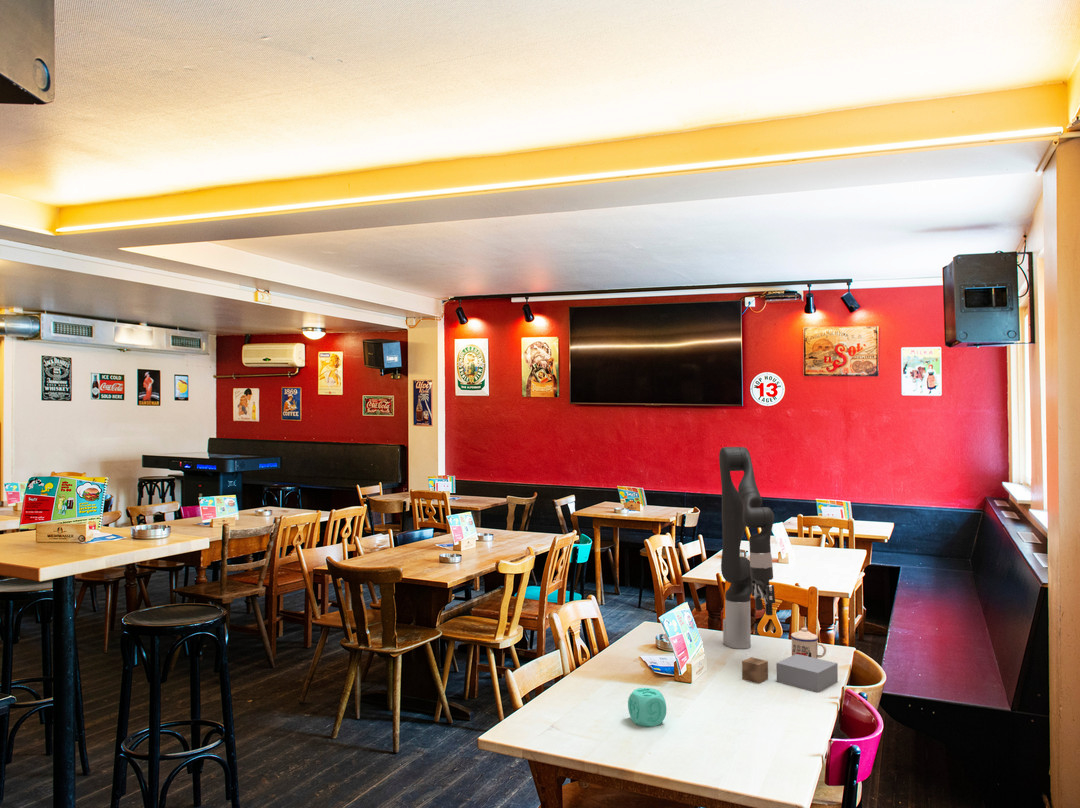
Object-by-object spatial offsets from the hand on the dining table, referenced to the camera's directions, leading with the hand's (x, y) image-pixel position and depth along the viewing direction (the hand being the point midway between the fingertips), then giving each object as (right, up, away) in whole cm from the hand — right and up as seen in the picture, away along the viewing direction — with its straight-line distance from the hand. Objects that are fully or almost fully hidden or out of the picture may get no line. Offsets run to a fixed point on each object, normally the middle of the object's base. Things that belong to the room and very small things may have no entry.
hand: (764, 612), depth 255 cm
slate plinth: (+9, -18, -16) cm, 26 cm away
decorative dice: (-48, -17, -49) cm, 70 cm away
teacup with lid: (+17, -19, +5) cm, 26 cm away
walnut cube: (-7, -18, -13) cm, 24 cm away
